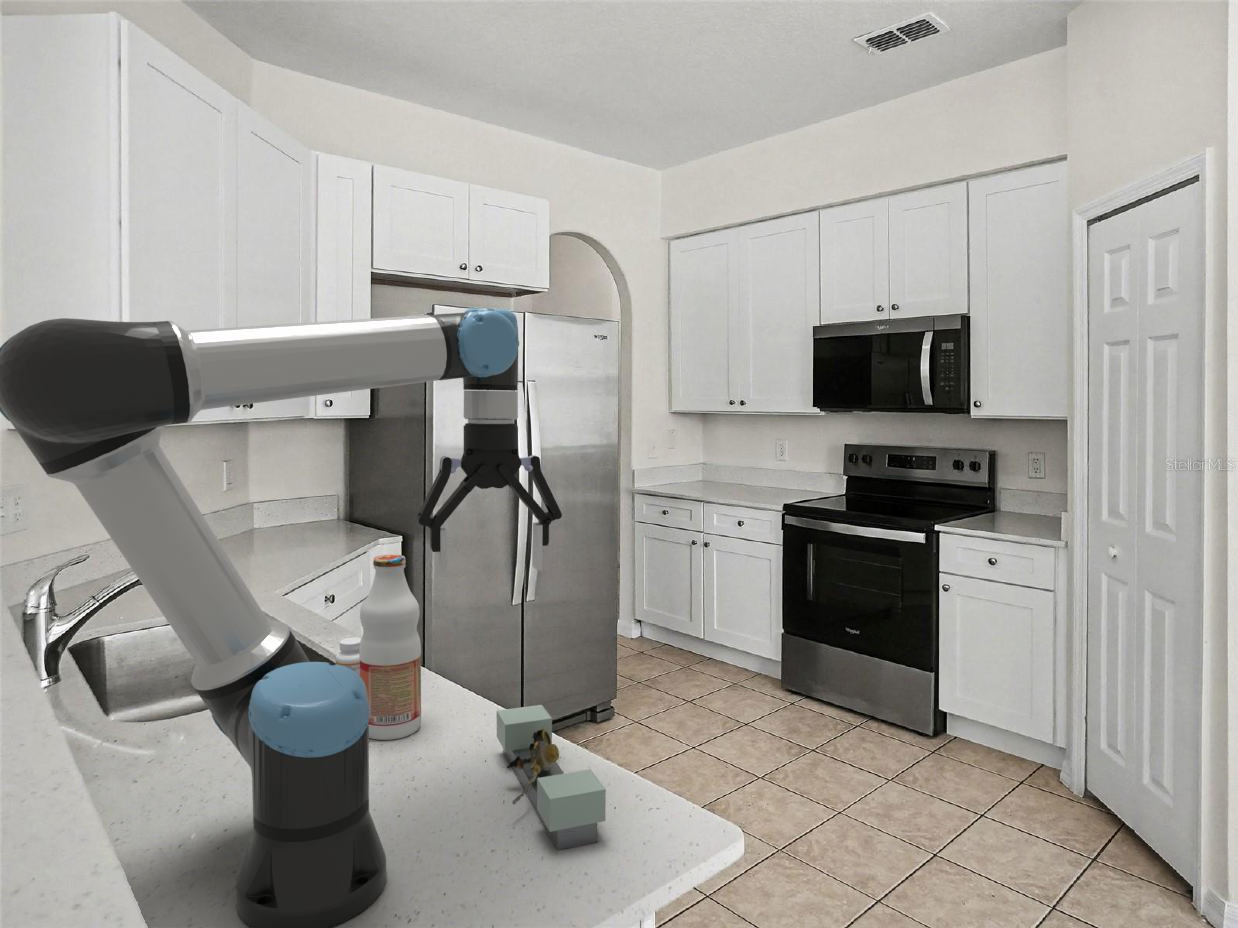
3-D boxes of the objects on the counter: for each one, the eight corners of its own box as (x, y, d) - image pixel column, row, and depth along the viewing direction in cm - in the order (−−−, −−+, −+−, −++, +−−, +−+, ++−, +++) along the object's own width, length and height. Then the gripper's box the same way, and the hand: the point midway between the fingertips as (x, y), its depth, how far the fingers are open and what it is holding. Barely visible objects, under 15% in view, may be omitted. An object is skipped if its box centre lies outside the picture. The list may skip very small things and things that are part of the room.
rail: (557, 850, 94) (557, 830, 94) (503, 751, 120) (503, 735, 120) (597, 842, 96) (597, 822, 96) (535, 746, 122) (535, 730, 122)
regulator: (540, 813, 99) (571, 742, 113) (529, 786, 99) (562, 718, 113) (488, 823, 101) (525, 753, 115) (476, 796, 101) (515, 729, 115)
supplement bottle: (350, 686, 146) (350, 634, 145) (374, 690, 144) (373, 638, 143) (329, 696, 141) (328, 642, 140) (353, 701, 139) (352, 646, 138)
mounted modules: (549, 831, 94) (550, 799, 93) (496, 736, 120) (496, 710, 119) (605, 820, 96) (605, 789, 96) (541, 729, 122) (541, 704, 122)
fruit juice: (393, 746, 121) (391, 565, 119) (347, 733, 126) (344, 559, 123) (433, 724, 130) (432, 555, 127) (389, 713, 134) (387, 549, 132)
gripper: (568, 421, 119) (566, 560, 121) (396, 420, 110) (397, 571, 112) (584, 422, 112) (582, 571, 114) (401, 422, 103) (403, 583, 105)
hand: (490, 571), depth 113 cm, fingers open, 13 cm apart
